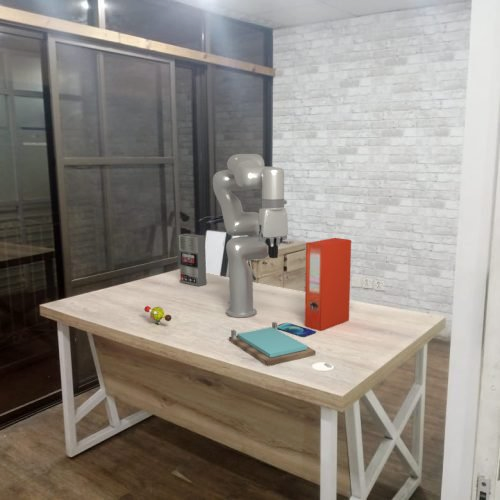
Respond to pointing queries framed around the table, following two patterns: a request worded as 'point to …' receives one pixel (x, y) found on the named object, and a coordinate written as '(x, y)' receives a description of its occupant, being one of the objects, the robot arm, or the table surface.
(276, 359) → the press base
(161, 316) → the molecule model
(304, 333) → the smartphone
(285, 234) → the robot arm
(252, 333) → the plate
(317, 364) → the table surface
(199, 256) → the cassette tape recorder
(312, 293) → the file binder
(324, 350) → the table surface
